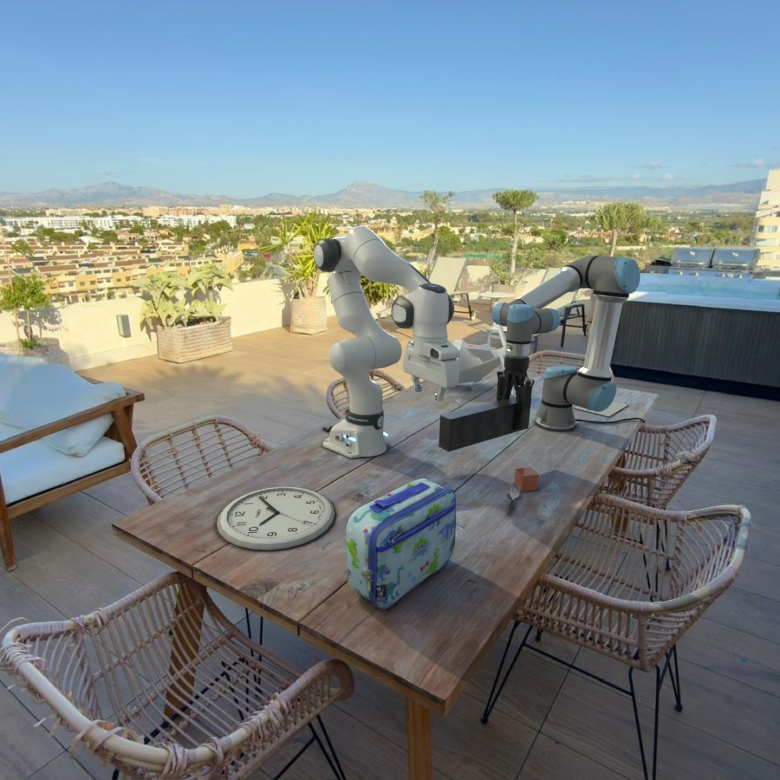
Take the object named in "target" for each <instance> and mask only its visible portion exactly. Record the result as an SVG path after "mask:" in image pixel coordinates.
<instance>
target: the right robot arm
mask: <svg viewBox="0 0 780 780" xmlns="http://www.w3.org/2000/svg"><path fill="white" fill-rule="evenodd" d="M640 282H641V269H640V267H639V264H638V262H637V261H636V260H635V259H633V258H631V257H625V256H610V255H609V256H608V255H588V256H583V257H581V258H578V259H577V260H574V261H571V262H569V263H568V264H566V265H564V266H562V267H561V268H560V269H558V271H557V273H556V274H554V275H552V276H551V277H550V278H548V279H546V280H545V281H542V282H541V283H539V284H538V285H536V286H535V287H533V288H531V289H530V290H528V291H527V292H525V293H523V294H522V295H520V296H518V297H516V298H515V299H513V300H512V301H510V302H505V301H504V302H497V303H496V304H495V305H494V306H493V308H492V310H491V319H492V321H493V323H494V324H498V325H502V327H506V334H505V337H506V346H505V354H506V355H505V357H504V367H505V369H504V370H503V369H502V370H498V371H496V376H497V384H496V385H497V386H496V398H495V400H496V401H500V400H504V399H508V398H511V395H512V394H511V391H512V388H513V386H514V389H515V392H516V403H517V409H516V410H515V414H514V425H513V430H518V429H521V420H523V416H524V411H525V410H529V409H530V410H531V408H530V404H531V405H532V394H533V386H534V384H535V379H531V378H530V377H528V369H529V367H530V357H529V356H531V349H532V348H531V347H532V337H533V336H534V335H541V334H548V333H551V332H554V331H556V330H557V329H558V328H559V326H560V323H561V316H560V314H559V312H558V311H557V310H556V309H554V308H551V307H549V308H548V307H547V306H549V305H550V304H553V302H555V301H556V300H558V299H559V298H561V297H563V296H565V295H566V294H568V293H574V292H576V291H578V290H581V289H583V290H585V289H589V290H593V293H592V296H593V297H594V298H595V306H594V311H593V317H592V320H591V321H592V322H591V326H590V330H589V336H588V342H587V346H586V351H585V357H584V363H583V366H582V367H581V368H579V369H578V368H577V367H576V366H571V365H570V366H569V365H557V366H556V365H555V366H550V367H547V368H546V369H545V371H544V375H543V378H542V379H543V381H542V382H543V383H542V394H541V402H540V405H539V407H538V410H537V411H536V413H535V417H534V424H535V425H536V426H537V427H539V428H542V429H544V430H549V431H556V432H567V431H572V430H574V429H575V428H576V422H582V423H588V424H589V423H591V424H617V423H620V422H624V421H634V420H635V421H636V420H638V421H641V422H643V423H646V421H645V420H644V419H643V418H641V417H628V418H621V419H618V420H611V421H601V420H588V419H587V420H586V419H580V418H575V417H576V416H575V413H574V407H573V406H575V407H576V406H579V407H582V408H585V409H587V410H592V411H596V412H601V411H604V410H605V409H607V408H608V407H609V406H610V404H611V403H612V402H613V401H614V400H615V398H616V394H617V384H615V383H614V381H612V380H613V375H612V373H611V372H610V367H611V362H612V357H613V351H614V348H615V343H616V337H617V333H618V332H617V331H618V327H619V323H620V319H621V313H622V309H623V304H624V303H625V302H626V301H628V300H629V299H630V298H629V297H630V295H631V294H634V293H635V292H636V291H638V290H637V289H638V288H639V286H640ZM524 381H525V383H524ZM524 385H525V386H524Z"/></svg>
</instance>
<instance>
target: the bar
mask: <svg viewBox="0 0 780 780" xmlns="http://www.w3.org/2000/svg"><path fill="white" fill-rule="evenodd" d="M531 406H532V403H531V404H530V409H529V410H525V411H524V416H523V420H521V429H518V430H513V425H514V414H515V410H516V409H517V403H516V397H514V396H512V397H510V398H508V399H504V400H500V401H497V400H496V401H491V402H487V403H483V404H480V405H476V406H472V407H466V408H462V409H459V410H455V411H454V410H453V411H451V412H447V413H442V414H439V431H438V448H440V449H442V450H444V451H446V452H448V453H450V452H453V451H458V450H460V449H464V448H467V447H470V446H474V445H478V444H480V443H483V442H487V441H491V440H494V439H497V438H500V437H504V436H507V435H511V434H514V433H519V432H521V431H524V430H528V429H529V427H530V426H529V425H530V417H531V408H532V407H531Z"/></svg>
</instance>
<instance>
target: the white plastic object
mask: <svg viewBox="0 0 780 780" xmlns="http://www.w3.org/2000/svg"><path fill="white" fill-rule="evenodd" d="M495 324H496V323H495ZM495 326H496V328H497V332H498V335H499V338H500V342H501V345H502V347H500V348H498V349H496V350H495V349H493V348H492V347H491V346H490V344H489V343H488V342H487V343H483V344H479V345H473V346H469V345H468V343H466V342H465V340H464V339H463V338H460V339H458V338H454V340H453V343H452V344H453V345H454V346H455V347H456V348H457V349H459V351H460V357H459V358H456V359H457V360H458V362H459V382H458V385H459V384H467V383H468V384H469V383H473V384H477V383H480V382H482V381H484V378H485V377H486V376H487V375H489V374H490V373H492V372H494V371H495V370H496V369H497V368H499V367H500V366H502V371H503V370H504V369H505V367H504V357H505V355H506V354H505V346H506V334H505V331H504V328H503V327H504V326H502V325H498V324H496V325H495ZM524 383H525V381H524ZM524 386H525V385H524ZM511 395H512V397H516V392H515V389H514V386H513V388H512V391H511Z"/></svg>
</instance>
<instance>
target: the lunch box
mask: <svg viewBox="0 0 780 780" xmlns="http://www.w3.org/2000/svg"><path fill="white" fill-rule="evenodd" d="M456 498H457V496H456V493H455V491H454V489H452V488H450V487H443V486H441V485H439V484H438V483H436V482H433V481H432V480H430V479H427V478H423V477H422V478H418V479H416V480H413V481H411V482H409V483H406V484H405V485H402V486H400V487H398V488H396V489H394V490H392V491H390V492H388V493H386V494H383V495H382V496H379V497H378V498H376V499H374V500H372V501H370V502H368V503H366V504H363V505H362V506H360V507H358V508H356V509H355V510H354V511H353V513H351V515H350V517H349V519H348V521H347V524H346V530H345V547H346V549H345V550H346V572H347V573H346V575H347V584H348V587H349V589H350V590H351V591H353V592H355V593H357V594H358V595H361V596H363V597H364V598H365V599H367V600H368V601H369V602H371V604H372V605H373V606H374V607H376V608H377V609H380V610H386V609H389V608H391V607H393V605H395V603H397V602H398V601H399V600H400V599H402V598H403V597H404V596H405V595H408V593H410V592H411V591H412V590H413V589H415V588H416V587H417V586H419V585H420V584H421V583H423V581H424V580H425V579H427V578H428V577H430V576H431V575H433V574H435V573H437V572H438V571H439V570H441V569H442V568H443V567H444V566H446V564H447V563H448V562H449V560H450V559H451V556H452V555H453V552H454V548H455V544H456V531H457V530H456V529H457V499H456Z"/></svg>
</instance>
